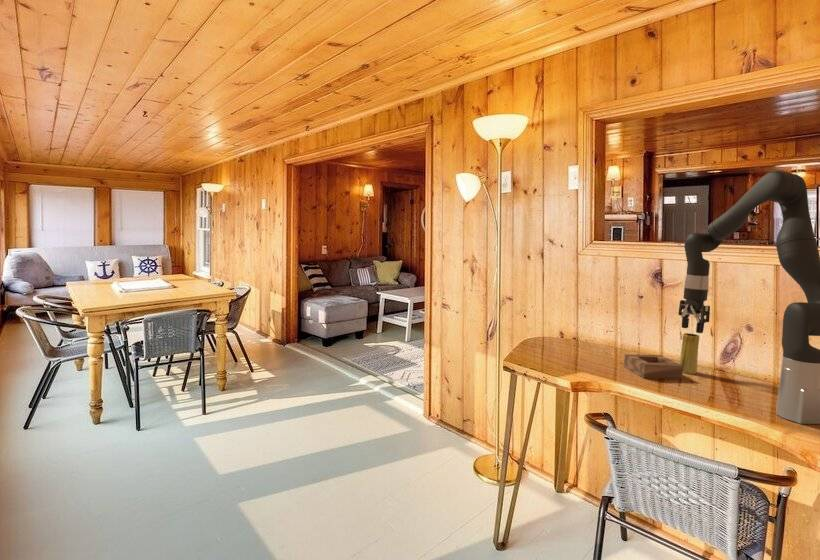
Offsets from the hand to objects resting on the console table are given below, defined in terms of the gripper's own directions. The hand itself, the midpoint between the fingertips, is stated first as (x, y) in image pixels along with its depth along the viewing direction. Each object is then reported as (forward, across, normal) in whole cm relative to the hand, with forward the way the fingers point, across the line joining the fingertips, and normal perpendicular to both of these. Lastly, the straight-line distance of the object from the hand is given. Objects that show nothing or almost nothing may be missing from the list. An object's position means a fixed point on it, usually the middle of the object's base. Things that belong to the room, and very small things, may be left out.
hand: (691, 330), depth 175 cm
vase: (+16, 0, 0) cm, 16 cm away
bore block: (+16, -2, +15) cm, 22 cm away
